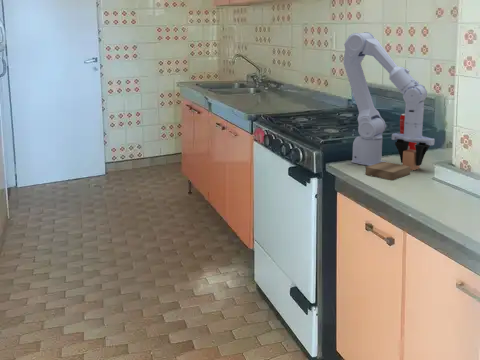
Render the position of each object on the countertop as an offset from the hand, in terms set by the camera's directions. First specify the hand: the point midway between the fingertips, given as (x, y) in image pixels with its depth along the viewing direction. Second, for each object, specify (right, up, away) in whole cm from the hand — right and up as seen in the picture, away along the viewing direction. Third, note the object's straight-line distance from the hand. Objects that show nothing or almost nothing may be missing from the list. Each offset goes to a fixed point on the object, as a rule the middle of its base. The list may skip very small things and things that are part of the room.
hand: (411, 163), depth 189 cm
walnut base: (-9, -4, -6) cm, 12 cm away
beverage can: (+5, +4, +20) cm, 21 cm away
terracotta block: (0, -2, 0) cm, 2 cm away
